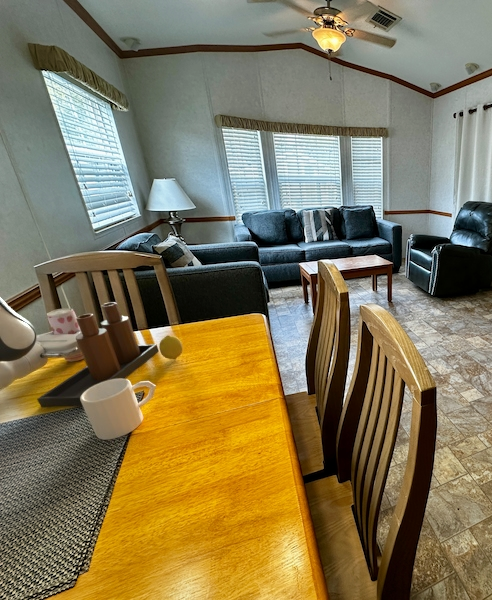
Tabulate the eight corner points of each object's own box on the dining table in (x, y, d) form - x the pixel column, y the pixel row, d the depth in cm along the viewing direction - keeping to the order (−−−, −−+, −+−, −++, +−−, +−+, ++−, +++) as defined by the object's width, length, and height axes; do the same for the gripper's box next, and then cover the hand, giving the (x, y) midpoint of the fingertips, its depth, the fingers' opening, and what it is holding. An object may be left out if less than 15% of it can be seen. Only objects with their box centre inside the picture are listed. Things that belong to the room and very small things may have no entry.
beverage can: (69, 364, 95) (49, 317, 89) (62, 358, 98) (42, 312, 92) (94, 355, 99) (76, 310, 94) (86, 350, 102) (69, 306, 97)
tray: (90, 406, 78) (86, 397, 77) (41, 407, 78) (36, 398, 77) (158, 351, 102) (156, 344, 101) (121, 352, 101) (118, 345, 100)
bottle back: (112, 366, 94) (89, 309, 87) (121, 356, 99) (101, 301, 92) (136, 363, 95) (116, 306, 89) (144, 353, 101) (126, 299, 94)
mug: (166, 418, 74) (154, 382, 71) (96, 446, 67) (79, 407, 63) (161, 401, 80) (149, 367, 76) (96, 424, 72) (80, 388, 69)
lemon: (189, 356, 99) (183, 333, 96) (171, 366, 94) (163, 341, 91) (178, 352, 101) (171, 329, 98) (159, 361, 96) (151, 337, 93)
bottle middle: (88, 383, 86) (62, 322, 80) (100, 371, 92) (76, 313, 85) (115, 379, 88) (92, 319, 81) (125, 367, 93) (104, 310, 87)
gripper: (60, 345, 83) (104, 321, 96) (-25, 346, 82) (31, 322, 95) (69, 366, 85) (111, 340, 98) (-13, 368, 84) (40, 341, 97)
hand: (71, 331), depth 96 cm, fingers closed on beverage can, 5 cm apart
